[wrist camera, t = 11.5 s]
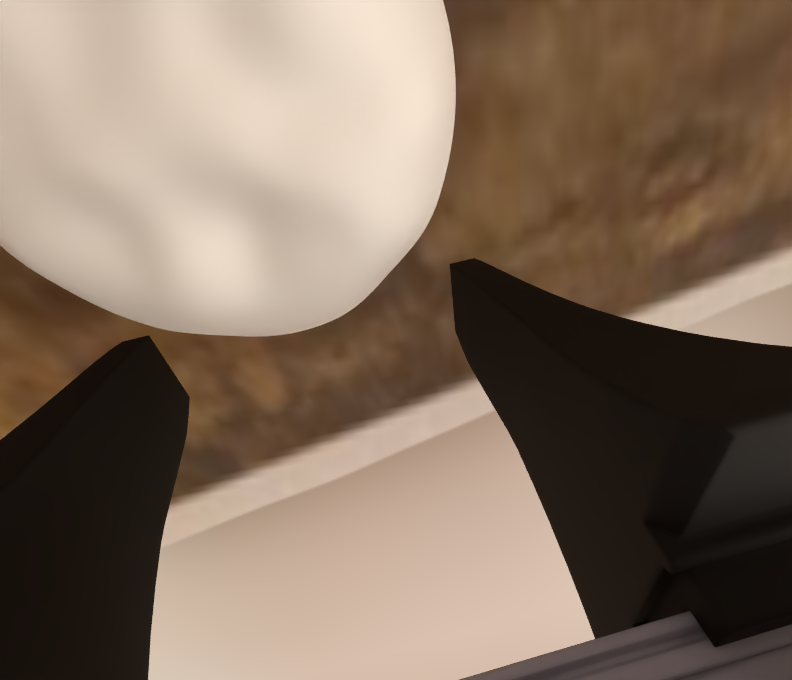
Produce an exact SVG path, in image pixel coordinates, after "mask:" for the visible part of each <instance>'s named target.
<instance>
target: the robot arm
mask: <svg viewBox="0 0 792 680" xmlns="http://www.w3.org/2000/svg"><path fill="white" fill-rule="evenodd" d="M450 272H451V284H452V296H453V308H454V320H455V331H456V334H457V336H458V339H459V341H460V344H461V346H462V349H463V351H464V354H465V356H466V358H467V361H468V363H469V365H470V367H471V368H472V370H473V372H474V374H475V375H476V377H477V379H478V381H479V382H480V384H481V386H482V387H483V389H484V391H485V393H486V394H487V396H488V398H489V399H490V401H491V403H492V404H493V406H494V408H495V410H496V411H497V413H498V415H499V416H500V418H501V420H502V421H503V423H504V425H505V426H506V428H507V430H508V432H509V434H510V435H511V437H512V439H513V441H514V443H515V445H516V447H517V449H518V451H519V453H520V455H521V458H522V460H523V462H524V464H525V467H526V469H527V471H528V473H529V476H530V478H531V480H532V482H533V484H534V487H535V489H536V492H537V494H538V496H539V498H540V501H541V503H542V506H543V508H544V510H545V512H546V515H547V517H548V519H549V521H550V524H551V527H552V529H553V532H554V534H555V537H556V539H557V541H558V544H559V546H560V549H561V551H562V554H563V556H564V558H565V561H566V563H567V566H568V568H569V571H570V574H571V576H572V579H573V581H574V584H575V586H576V589H577V592H578V594H579V597H580V599H581V602H582V605H583V607H584V610H585V613H586V615H587V618H588V620H589V623H590V626H591V629H592V631H593V634H594V637H595V639H594V640H591V641H587V642H584V643H581V644H577V645H574V646H570V647H567V648H564V649H561V650H557V651H554V652H550V653H547V654H544V655H540V656H537V657H534V658H530V659H527V660H524V661H520V662H517V663H514V664H510V665H507V666H504V667H500V668H497V669H494V670H490V671H487V672H484V673H480V674H477V675H474V676H470V677H467V678H464V679H460V680H792V347H787V346H778V345H767V344H758V343H750V342H744V341H737V340H730V339H723V338H717V337H709V336H704V335H698V334H692V333H687V332H682V331H677V330H672V329H668V328H663V327H659V326H654V325H650V324H645V323H641V322H637V321H633V320H629V319H625V318H622V317H618V316H615V315H612V314H608V313H605V312H602V311H598V310H595V309H592V308H589V307H586V306H583V305H580V304H577V303H575V302H572V301H570V300H567V299H564V298H562V297H559V296H557V295H554V294H552V293H549V292H547V291H544V290H542V289H540V288H538V287H535V286H533V285H531V284H529V283H526V282H524V281H522V280H520V279H518V278H516V277H514V276H512V275H509V274H507V273H505V272H503V271H501V270H499V269H497V268H495V267H493V266H491V265H489V264H487V263H485V262H482V261H480V260H477V259H475V258H473V259H469V260H465V261H461V262H456V263H452V264H450ZM189 398H190V397H189V396H188V394H187V393H186V391H185V390H184V388H183V386H182V385H181V383H180V382H179V380H178V379H177V377H176V376H175V374H174V373H173V371H172V370H171V368H170V367H169V365H168V364H167V362H166V361H165V359H164V358H163V356H162V354H161V353H160V351H159V350H158V348H157V347H156V345H155V344H154V342H153V341H152V339H151V338H150V336H145V337H140V338H136V339H132V340H128V341H124V342H121V343H120V344H118V345H117V346H115V347H114V348H112V349H111V350H110V351H108V352H107V353H106V354H104V355H103V356H102V357H101V358H99V359H98V360H97V361H96V362H94V363H93V364H92V365H91V366H90V367H88V368H87V369H86V370H85V371H84V372H82V373H81V374H80V375H79V376H78V377H77V378H75V379H74V380H73V381H72V382H71V383H70V384H68V385H67V386H66V387H65V388H64V389H62V390H61V391H60V392H59V393H58V394H57V395H55V396H54V397H53V398H52V399H51V400H49V401H48V402H47V403H46V404H45V405H44V406H42V407H41V408H40V409H39V410H37V411H36V412H35V413H34V414H32V415H31V416H30V417H29V418H27V419H26V420H25V421H24V422H22V423H21V424H20V425H19V426H17V427H16V428H15V429H14V430H12V431H11V432H10V433H9V434H7V435H6V436H5V437H4V438H2V439H1V440H0V680H148V668H149V653H150V635H151V624H152V615H153V605H154V594H155V584H156V577H157V569H158V562H159V554H160V547H161V540H162V535H163V530H164V525H165V521H166V517H167V513H168V509H169V505H170V501H171V497H172V493H173V489H174V485H175V481H176V477H177V473H178V469H179V465H180V461H181V457H182V452H183V448H184V444H185V439H186V435H187V426H188V415H189Z"/></svg>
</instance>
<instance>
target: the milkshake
mask: <svg viewBox="0 0 792 680" xmlns="http://www.w3.org/2000/svg"><path fill="white" fill-rule="evenodd" d="M455 103H456V81H455V65H454V55H453V47H452V40H451V34H450V29H449V24H448V19H447V15H446V11H445V7H444V3H443V0H0V246H1V247H3V248H4V249H5V250H6V251H7V252H9V253H10V254H11V255H12V256H13V257H15V258H16V259H17V260H19V261H20V262H21V263H23V264H24V265H26V266H27V267H29V268H30V269H32V270H33V271H35V272H36V273H38V274H40V275H41V276H43V277H45V278H46V279H48V280H50V281H51V282H53V283H55V284H57V285H58V286H60V287H62V288H64V289H66V290H67V291H69V292H71V293H73V294H75V295H77V296H79V297H80V298H82V299H84V300H86V301H88V302H90V303H92V304H94V305H97V306H99V307H101V308H103V309H105V310H108V311H110V312H112V313H115V314H117V315H120V316H122V317H125V318H128V319H130V320H133V321H136V322H139V323H142V324H145V325H149V326H152V327H156V328H160V329H165V330H170V331H176V332H183V333H193V334H207V335H225V336H275V335H283V334H290V333H295V332H300V331H304V330H307V329H311V328H314V327H317V326H320V325H323V324H325V323H328V322H330V321H332V320H335V319H337V318H339V317H341V316H342V315H344V314H346V313H347V312H349V311H350V310H352V309H353V308H354V307H356V306H357V305H358V304H359V303H361V302H362V301H363V300H364V299H365V298H366V297H367V296H368V295H369V294H370V293H371V292H372V291H373V290H374V289H375V288H376V287H377V286H378V285H379V284H380V283H381V282H382V281H383V279H384V278H385V277H386V276H387V275H388V274H389V273H390V272H391V271H392V269H393V268H394V267H395V266H396V265H397V264H398V263H399V262H400V261H401V260H402V258H403V257H404V256H405V255H406V254H407V253H408V252H409V250H410V249H411V248H412V247H413V246H414V244H415V243H416V242H417V240H418V239H419V238H420V236H421V235H422V233H423V231H424V230H425V228H426V226H427V225H428V223H429V221H430V219H431V217H432V215H433V212H434V210H435V207H436V205H437V202H438V199H439V196H440V192H441V189H442V185H443V182H444V178H445V174H446V170H447V166H448V161H449V156H450V151H451V145H452V138H453V130H454V120H455Z"/></svg>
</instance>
